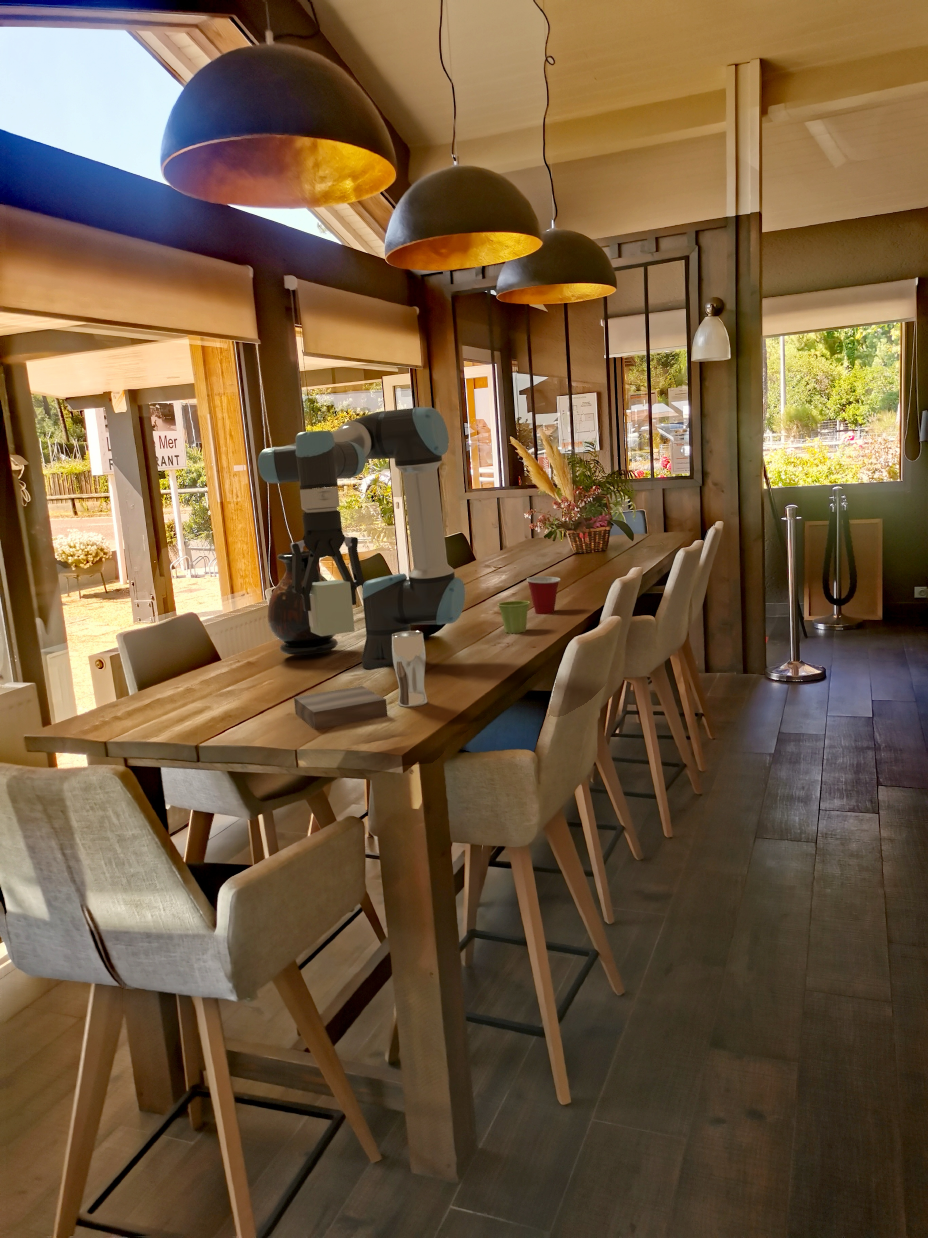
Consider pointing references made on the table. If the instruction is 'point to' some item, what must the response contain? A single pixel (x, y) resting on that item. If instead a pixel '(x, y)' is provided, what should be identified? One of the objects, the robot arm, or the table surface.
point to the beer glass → (409, 667)
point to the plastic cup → (543, 593)
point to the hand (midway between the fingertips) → (331, 623)
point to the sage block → (332, 607)
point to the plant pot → (514, 615)
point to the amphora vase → (295, 614)
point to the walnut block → (340, 707)
